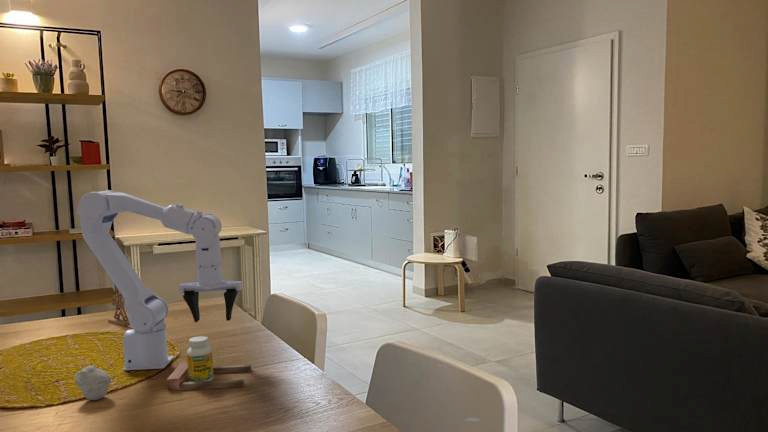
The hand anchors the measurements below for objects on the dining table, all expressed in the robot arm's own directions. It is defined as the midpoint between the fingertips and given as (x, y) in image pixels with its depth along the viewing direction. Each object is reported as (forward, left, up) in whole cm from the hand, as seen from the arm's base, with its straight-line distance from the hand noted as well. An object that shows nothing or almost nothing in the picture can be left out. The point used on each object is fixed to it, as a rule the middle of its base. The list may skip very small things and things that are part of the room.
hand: (212, 320), depth 140 cm
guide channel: (+2, -12, -10) cm, 16 cm away
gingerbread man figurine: (-38, +40, -11) cm, 57 cm away
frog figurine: (-20, -20, -11) cm, 30 cm away
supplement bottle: (0, -12, -11) cm, 16 cm away
